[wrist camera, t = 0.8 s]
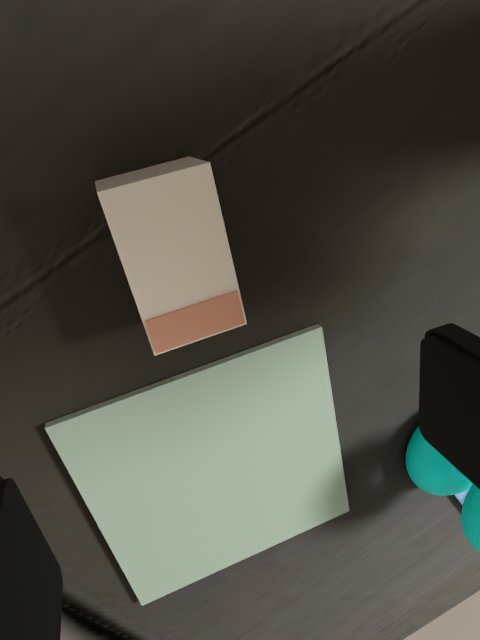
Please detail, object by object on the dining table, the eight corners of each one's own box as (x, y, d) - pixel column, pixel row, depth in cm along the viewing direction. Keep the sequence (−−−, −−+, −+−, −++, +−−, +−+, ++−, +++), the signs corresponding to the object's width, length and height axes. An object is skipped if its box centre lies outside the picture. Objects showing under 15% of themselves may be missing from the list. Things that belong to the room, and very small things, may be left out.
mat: (318, 323, 33) (321, 326, 32) (346, 505, 42) (349, 510, 41) (45, 422, 29) (44, 428, 29) (141, 599, 38) (141, 605, 38)
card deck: (188, 156, 26) (211, 162, 21) (223, 294, 30) (248, 325, 25) (94, 180, 25) (96, 193, 20) (143, 321, 29) (154, 357, 24)
